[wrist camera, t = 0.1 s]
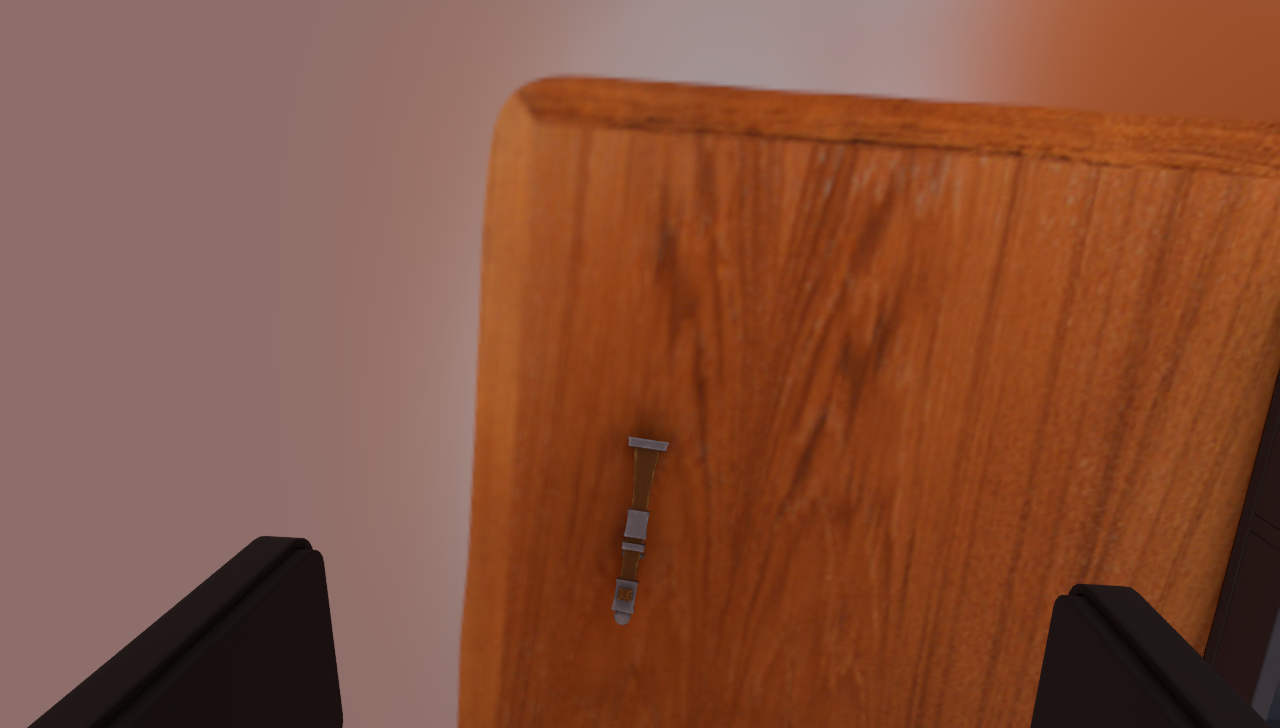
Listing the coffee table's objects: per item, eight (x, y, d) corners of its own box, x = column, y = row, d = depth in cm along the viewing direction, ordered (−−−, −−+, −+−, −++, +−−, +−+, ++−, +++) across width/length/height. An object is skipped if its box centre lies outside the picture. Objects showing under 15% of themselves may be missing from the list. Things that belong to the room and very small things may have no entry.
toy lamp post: (607, 604, 35) (598, 625, 30) (632, 439, 36) (627, 436, 31) (644, 611, 34) (641, 632, 30) (668, 445, 36) (669, 442, 31)
